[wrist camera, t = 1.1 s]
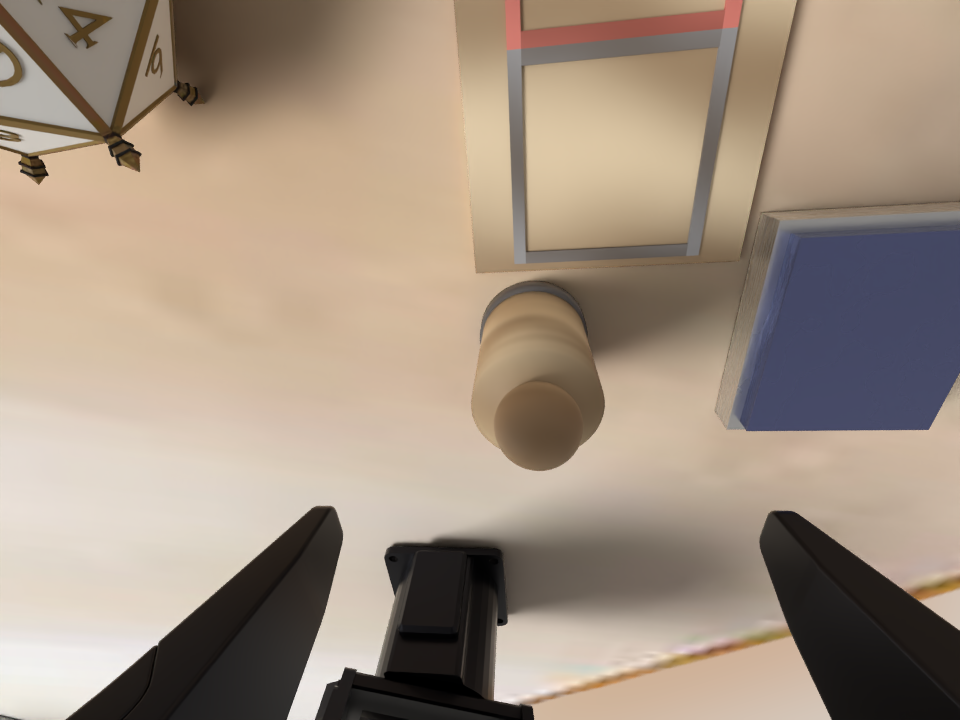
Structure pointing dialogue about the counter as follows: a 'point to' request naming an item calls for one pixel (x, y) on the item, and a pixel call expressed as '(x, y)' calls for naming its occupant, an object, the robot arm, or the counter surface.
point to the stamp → (536, 376)
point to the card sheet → (615, 127)
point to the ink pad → (846, 321)
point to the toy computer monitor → (6, 718)
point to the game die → (83, 75)
